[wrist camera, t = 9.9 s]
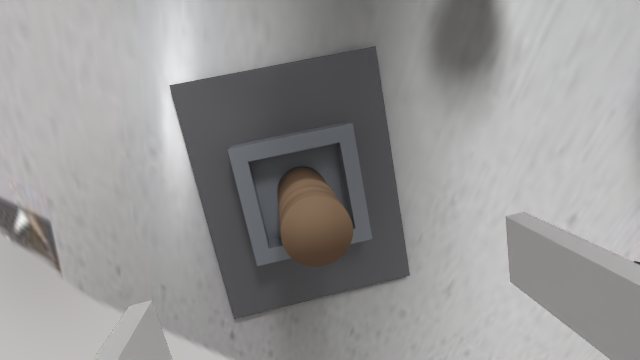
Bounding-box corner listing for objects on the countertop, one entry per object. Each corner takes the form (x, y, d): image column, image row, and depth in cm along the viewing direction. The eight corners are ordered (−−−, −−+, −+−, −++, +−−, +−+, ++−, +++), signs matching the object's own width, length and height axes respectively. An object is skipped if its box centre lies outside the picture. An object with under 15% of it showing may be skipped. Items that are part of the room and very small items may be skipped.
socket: (171, 85, 28) (160, 83, 25) (373, 47, 29) (384, 41, 27) (235, 314, 33) (231, 335, 30) (407, 272, 34) (419, 287, 31)
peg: (272, 172, 29) (273, 207, 20) (320, 161, 30) (345, 190, 20) (283, 219, 30) (290, 274, 20) (330, 208, 31) (359, 257, 21)
